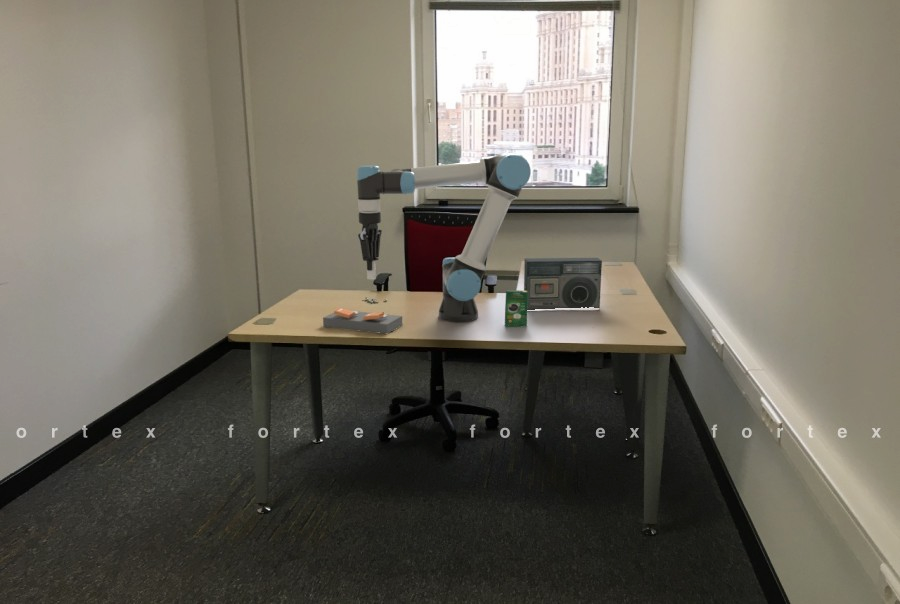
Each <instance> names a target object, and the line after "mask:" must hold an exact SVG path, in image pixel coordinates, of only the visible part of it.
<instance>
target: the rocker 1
mask: <svg viewBox="0 0 900 604" xmlns="http://www.w3.org/2000/svg"><path fill="white" fill-rule="evenodd" d="M353 311H354V310H350V309H346V308H342V307H340V308H338V309H335V310H334V311H333V313H334V314H336V315H340V316H343V317H346V318H350V317H352V316H354V315H355V312H353Z"/></svg>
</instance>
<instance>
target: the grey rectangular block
mask: <svg viewBox="0 0 900 604" xmlns="http://www.w3.org/2000/svg"><path fill="white" fill-rule="evenodd" d="M352 311H353V312H355V315H354V316H352V317H350V318H346V317H343V316H340V315H336V314H334V312H332V313H330V314H328V315H325V316H323V317H322V322H323V328H331V329H340V330H349V331H356V330H360V331H359V332H365V331H370V332H369V333H374V332H380V333H379V334H383V333H388V334H390V333H391V331H392V332H394V331H395V330H397V329H398V327H399V326H400V327H402V326H403V315H397V314H396V315H395V314H386V313H384V316H382V317H381V318H378V319H367V320H364V317H363V316H365V315H367V314H370V313H371V312H364V311H356V310H352ZM401 325H402V326H401ZM400 327H399V328H400ZM396 328H397V329H396ZM394 329H395V330H394ZM389 332H390V333H389Z"/></svg>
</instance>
